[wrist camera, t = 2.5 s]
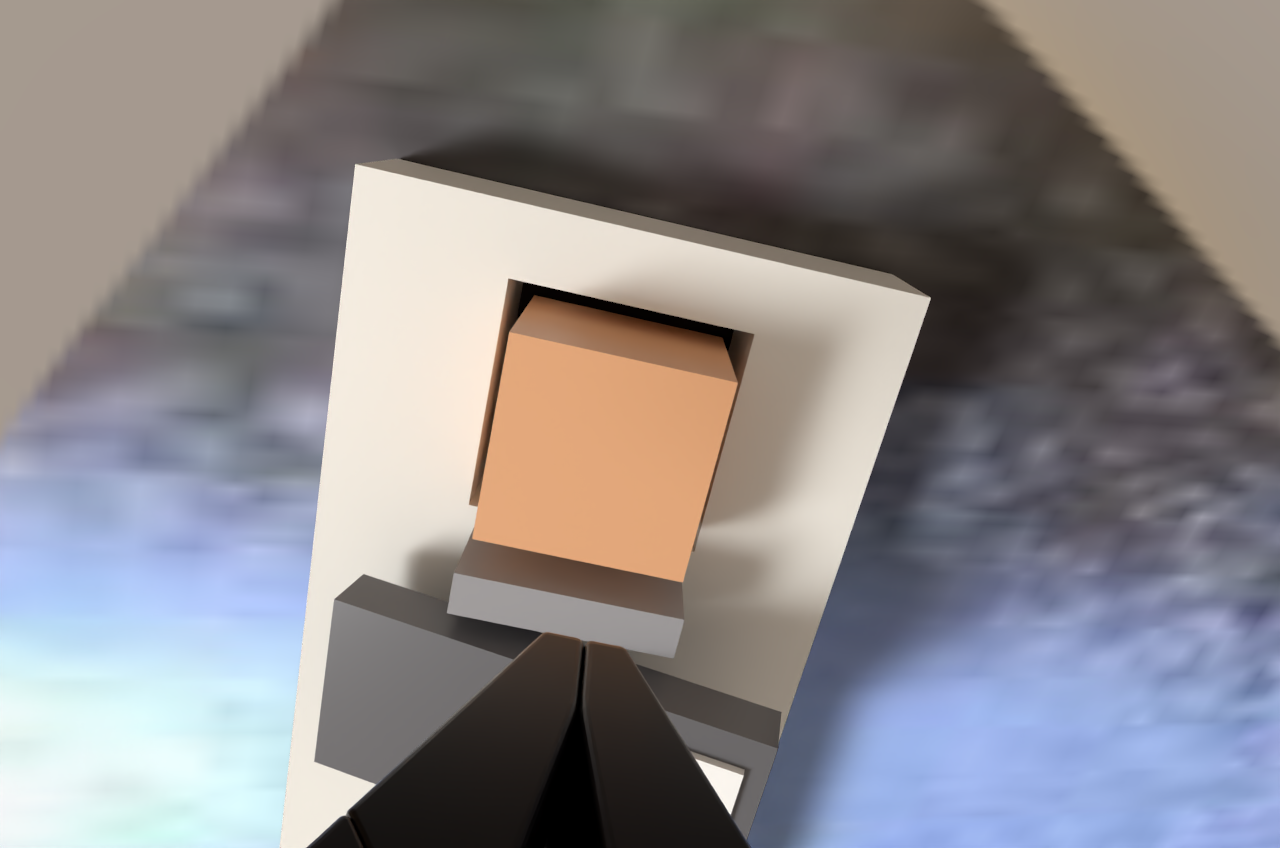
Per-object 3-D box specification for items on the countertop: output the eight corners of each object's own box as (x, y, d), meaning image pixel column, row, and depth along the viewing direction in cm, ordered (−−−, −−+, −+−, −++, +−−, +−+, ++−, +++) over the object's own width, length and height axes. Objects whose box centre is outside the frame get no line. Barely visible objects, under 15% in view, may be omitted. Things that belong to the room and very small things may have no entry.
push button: (722, 337, 16) (738, 383, 13) (677, 507, 17) (682, 582, 14) (534, 295, 16) (509, 331, 13) (501, 470, 17) (471, 539, 14)
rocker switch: (781, 711, 15) (777, 754, 14) (729, 867, 16) (721, 917, 15) (363, 574, 16) (329, 602, 15) (342, 729, 17) (309, 767, 16)
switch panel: (892, 274, 17) (971, 323, 13) (680, 927, 23) (686, 1110, 19) (397, 158, 16) (309, 169, 12) (308, 860, 22) (228, 1033, 18)
